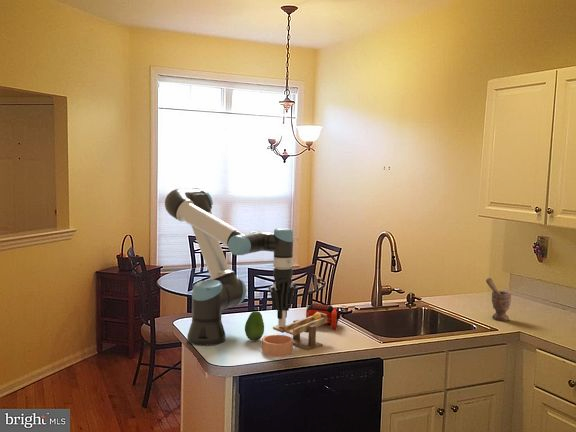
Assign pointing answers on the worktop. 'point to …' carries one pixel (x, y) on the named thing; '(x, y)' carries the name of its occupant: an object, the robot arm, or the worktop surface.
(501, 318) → the mortar and pestle
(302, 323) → the lever
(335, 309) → the power drill
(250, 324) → the fruit
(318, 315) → the ball
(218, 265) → the robot arm
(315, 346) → the stand
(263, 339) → the terracotta bowl
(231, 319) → the worktop surface
